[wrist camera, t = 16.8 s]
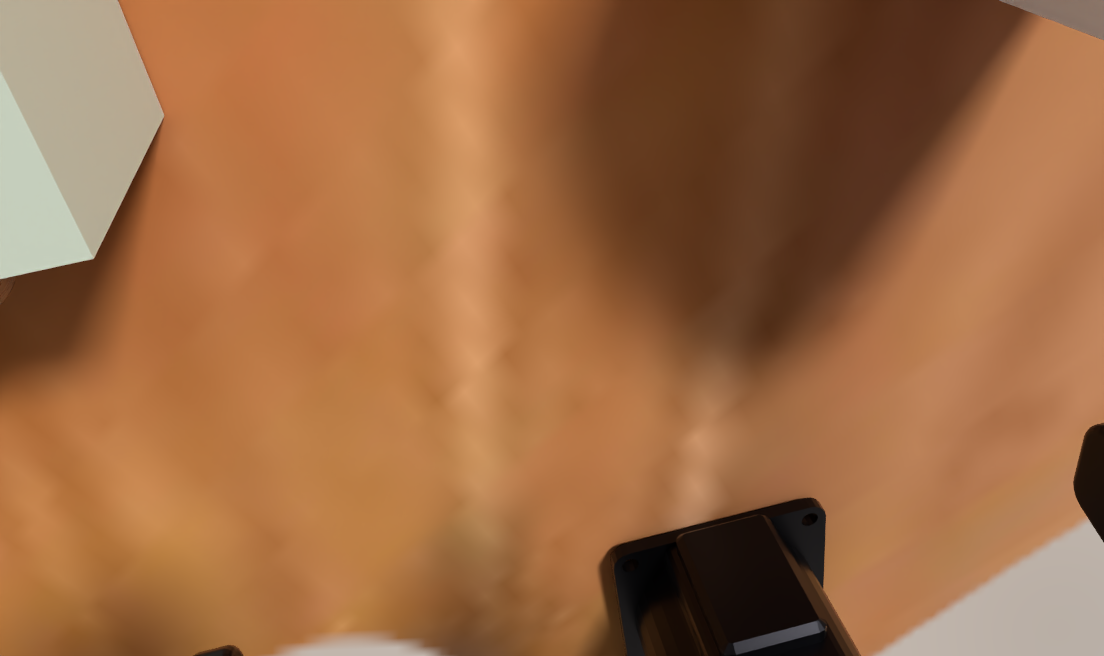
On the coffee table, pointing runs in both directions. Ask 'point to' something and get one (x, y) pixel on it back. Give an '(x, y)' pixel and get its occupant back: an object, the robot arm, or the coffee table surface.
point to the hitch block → (67, 128)
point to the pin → (6, 287)
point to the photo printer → (1068, 13)
